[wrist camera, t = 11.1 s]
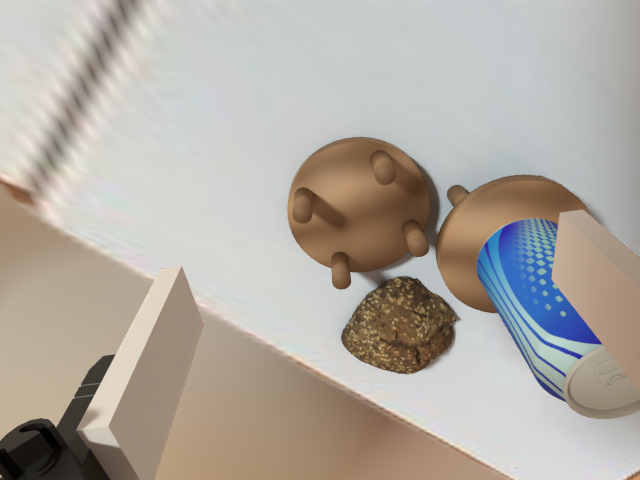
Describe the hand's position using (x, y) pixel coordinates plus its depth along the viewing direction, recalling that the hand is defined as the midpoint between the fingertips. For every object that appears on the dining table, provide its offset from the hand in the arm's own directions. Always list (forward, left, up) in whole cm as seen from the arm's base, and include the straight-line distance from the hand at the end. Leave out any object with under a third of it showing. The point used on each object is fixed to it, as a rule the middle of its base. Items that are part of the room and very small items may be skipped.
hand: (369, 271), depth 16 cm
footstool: (+14, +15, -29) cm, 35 cm away
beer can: (+14, +15, -23) cm, 31 cm away
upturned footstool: (+10, +1, -29) cm, 30 cm away
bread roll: (+27, +5, -29) cm, 40 cm away
